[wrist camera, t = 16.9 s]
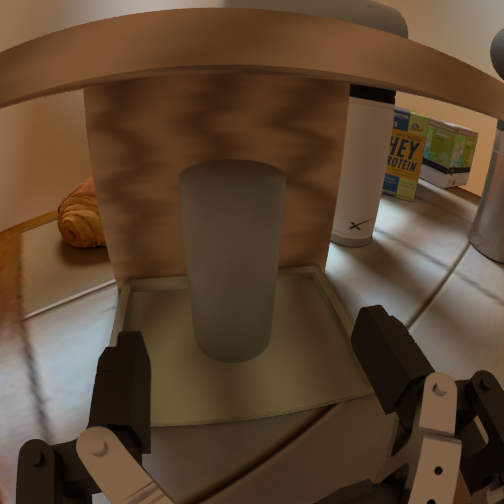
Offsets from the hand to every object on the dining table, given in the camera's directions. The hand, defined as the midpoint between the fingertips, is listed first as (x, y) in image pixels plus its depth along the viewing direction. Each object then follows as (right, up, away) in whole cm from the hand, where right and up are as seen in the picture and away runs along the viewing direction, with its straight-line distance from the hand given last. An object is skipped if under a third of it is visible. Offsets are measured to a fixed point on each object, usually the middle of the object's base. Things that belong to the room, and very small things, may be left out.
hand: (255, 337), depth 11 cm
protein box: (+27, +16, +45) cm, 55 cm away
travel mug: (+12, +5, +26) cm, 29 cm away
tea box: (+46, +20, +52) cm, 73 cm away
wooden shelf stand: (-2, -4, +12) cm, 13 cm away
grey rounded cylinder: (-2, -3, +12) cm, 12 cm away
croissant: (-18, +6, +28) cm, 34 cm away
